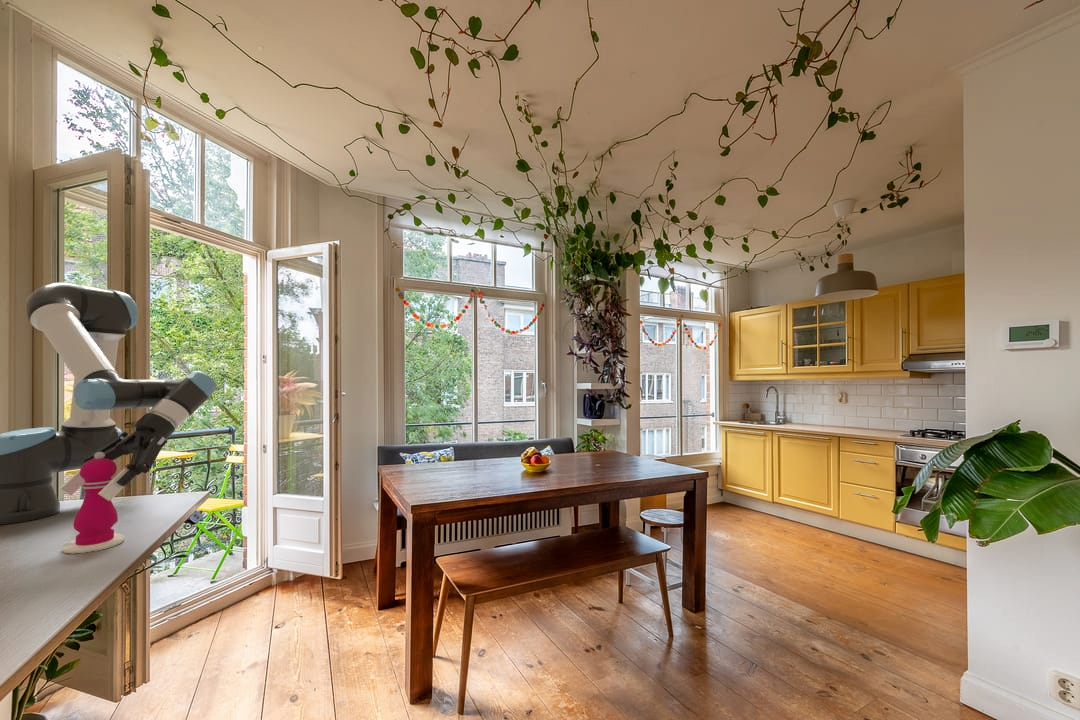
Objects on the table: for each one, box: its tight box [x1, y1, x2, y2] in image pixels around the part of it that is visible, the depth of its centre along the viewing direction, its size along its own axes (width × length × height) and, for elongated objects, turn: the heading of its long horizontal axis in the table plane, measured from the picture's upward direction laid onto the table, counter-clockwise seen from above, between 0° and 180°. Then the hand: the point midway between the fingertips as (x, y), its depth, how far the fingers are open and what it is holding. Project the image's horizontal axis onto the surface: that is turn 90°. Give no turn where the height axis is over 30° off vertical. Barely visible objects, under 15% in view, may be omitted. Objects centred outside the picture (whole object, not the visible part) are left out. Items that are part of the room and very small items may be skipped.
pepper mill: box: [72, 452, 119, 546], centre depth 103 cm, size 7×7×20 cm
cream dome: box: [61, 532, 125, 555], centre depth 103 cm, size 10×10×1 cm
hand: (84, 494), depth 101 cm, fingers open, 13 cm apart
